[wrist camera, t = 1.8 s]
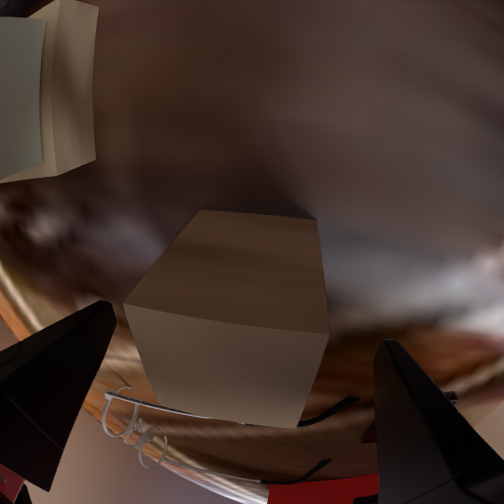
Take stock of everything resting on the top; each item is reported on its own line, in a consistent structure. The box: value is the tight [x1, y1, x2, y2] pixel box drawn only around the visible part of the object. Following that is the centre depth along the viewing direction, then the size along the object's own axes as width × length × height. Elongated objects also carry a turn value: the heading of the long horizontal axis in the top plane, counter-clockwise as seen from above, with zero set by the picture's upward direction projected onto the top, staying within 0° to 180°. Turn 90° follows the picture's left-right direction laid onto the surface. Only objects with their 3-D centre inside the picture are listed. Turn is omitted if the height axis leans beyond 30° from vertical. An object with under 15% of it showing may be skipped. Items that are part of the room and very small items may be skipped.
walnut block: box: [123, 209, 330, 429], centre depth 9 cm, size 4×4×6 cm
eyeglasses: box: [102, 386, 360, 485], centre depth 18 cm, size 16×19×5 cm
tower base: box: [0, 0, 99, 183], centre depth 8 cm, size 8×8×3 cm
